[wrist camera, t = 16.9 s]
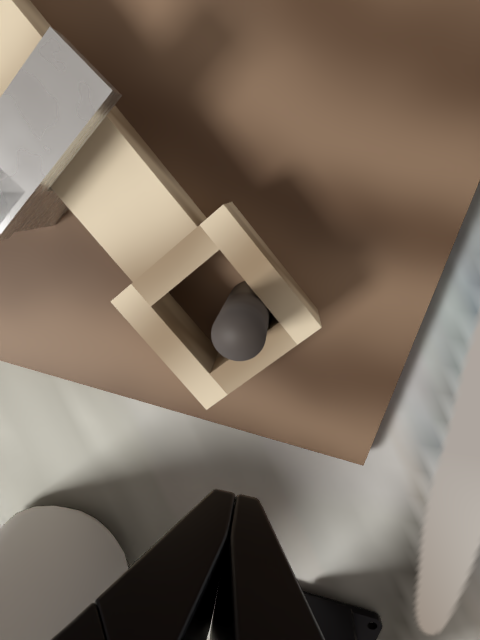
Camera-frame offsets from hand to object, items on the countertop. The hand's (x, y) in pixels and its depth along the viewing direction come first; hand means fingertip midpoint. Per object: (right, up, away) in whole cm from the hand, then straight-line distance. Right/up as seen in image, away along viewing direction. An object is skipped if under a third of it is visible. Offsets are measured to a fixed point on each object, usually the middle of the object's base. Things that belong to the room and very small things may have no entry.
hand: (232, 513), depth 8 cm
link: (-4, +9, +10) cm, 14 cm away
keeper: (-6, +10, +10) cm, 15 cm away
